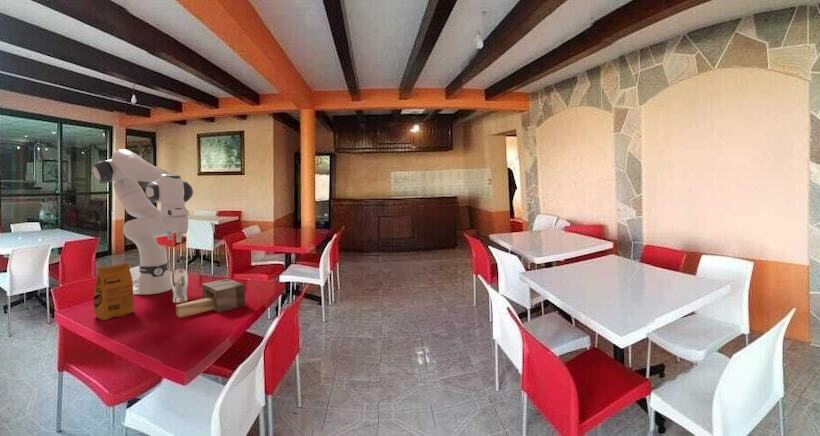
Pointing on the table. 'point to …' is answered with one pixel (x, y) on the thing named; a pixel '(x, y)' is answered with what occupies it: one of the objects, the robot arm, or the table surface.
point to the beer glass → (179, 285)
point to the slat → (194, 307)
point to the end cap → (225, 294)
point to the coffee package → (113, 292)
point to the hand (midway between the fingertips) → (174, 241)
